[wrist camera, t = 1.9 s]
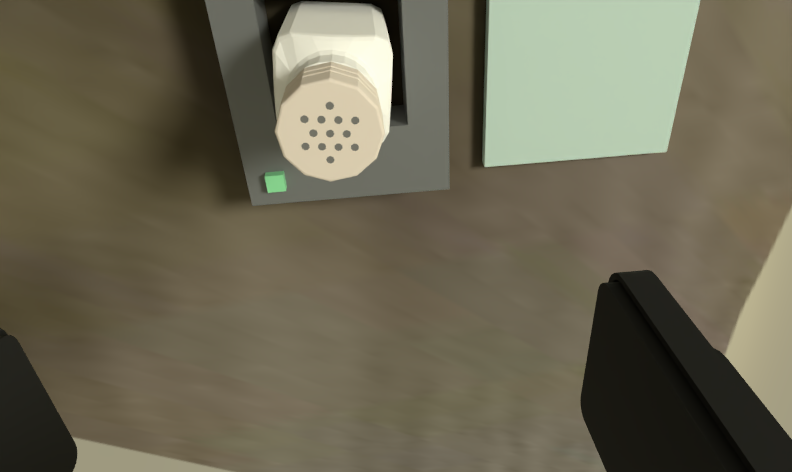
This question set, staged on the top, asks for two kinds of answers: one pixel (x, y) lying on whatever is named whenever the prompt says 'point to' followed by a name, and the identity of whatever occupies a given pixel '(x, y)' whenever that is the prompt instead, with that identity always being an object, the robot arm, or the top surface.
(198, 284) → the top surface
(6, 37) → the top surface
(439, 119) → the frame
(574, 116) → the mat
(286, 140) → the salt shaker
